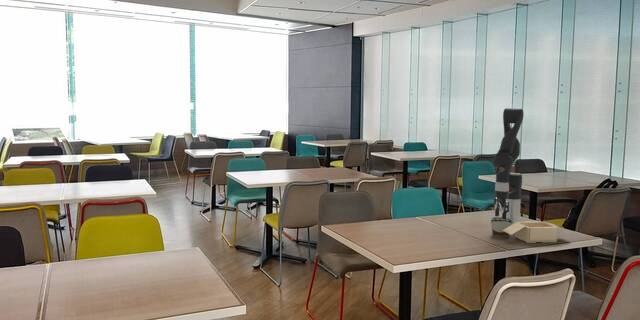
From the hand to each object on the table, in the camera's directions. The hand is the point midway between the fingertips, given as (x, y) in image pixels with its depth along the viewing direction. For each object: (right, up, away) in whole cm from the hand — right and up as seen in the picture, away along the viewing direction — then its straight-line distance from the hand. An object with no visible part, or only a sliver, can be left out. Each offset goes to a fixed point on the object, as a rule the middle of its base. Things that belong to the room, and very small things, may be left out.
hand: (500, 217), depth 302 cm
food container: (0, -10, +1) cm, 10 cm away
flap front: (+8, -2, -11) cm, 13 cm away
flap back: (+26, -2, -8) cm, 27 cm away
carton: (+17, -11, -8) cm, 22 cm away
